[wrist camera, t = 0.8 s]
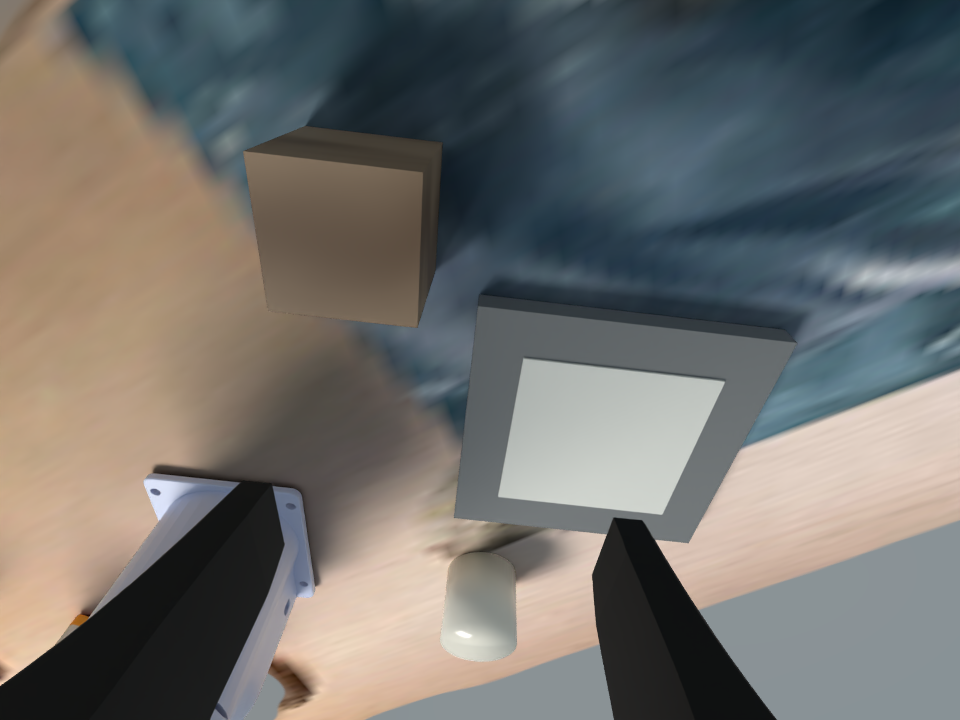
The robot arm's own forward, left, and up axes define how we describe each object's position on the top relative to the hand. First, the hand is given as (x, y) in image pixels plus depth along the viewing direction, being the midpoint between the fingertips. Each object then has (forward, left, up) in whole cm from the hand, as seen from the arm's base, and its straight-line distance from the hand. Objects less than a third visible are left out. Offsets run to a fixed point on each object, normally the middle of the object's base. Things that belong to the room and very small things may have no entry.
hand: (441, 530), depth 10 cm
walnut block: (+4, +4, -10) cm, 12 cm away
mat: (-5, -6, -10) cm, 13 cm away
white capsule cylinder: (-17, -2, -10) cm, 20 cm away
